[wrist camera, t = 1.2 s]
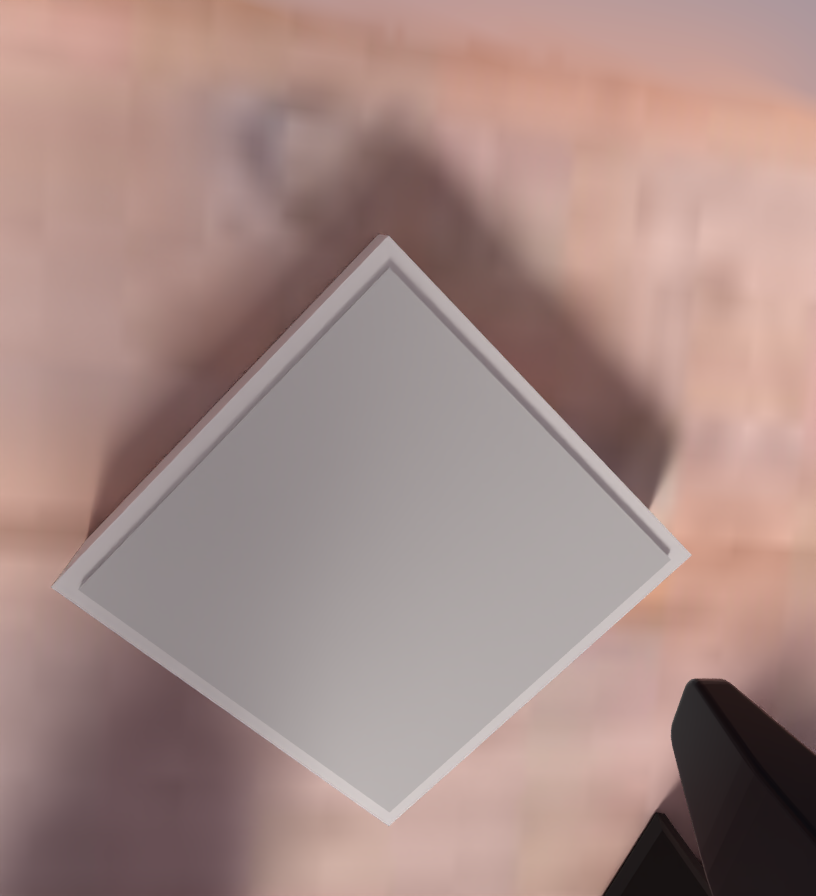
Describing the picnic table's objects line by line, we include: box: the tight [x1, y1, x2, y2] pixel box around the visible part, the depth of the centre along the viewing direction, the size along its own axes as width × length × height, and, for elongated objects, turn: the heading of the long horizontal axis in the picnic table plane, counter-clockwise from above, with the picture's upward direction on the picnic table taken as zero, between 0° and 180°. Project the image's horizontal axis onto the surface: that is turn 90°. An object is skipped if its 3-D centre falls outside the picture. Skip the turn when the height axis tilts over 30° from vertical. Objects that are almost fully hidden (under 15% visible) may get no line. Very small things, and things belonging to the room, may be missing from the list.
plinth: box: [51, 234, 691, 826], centre depth 20 cm, size 12×12×3 cm
